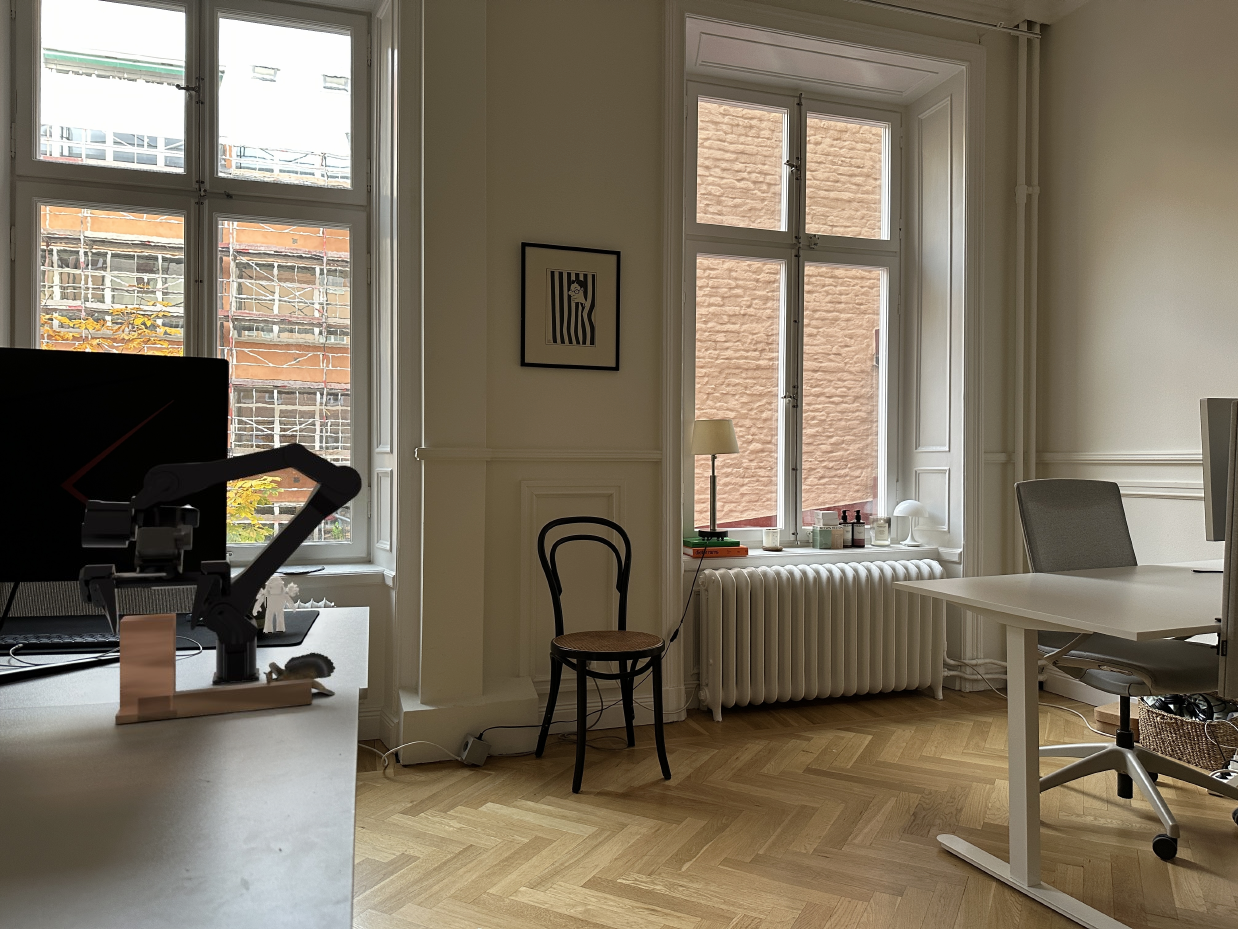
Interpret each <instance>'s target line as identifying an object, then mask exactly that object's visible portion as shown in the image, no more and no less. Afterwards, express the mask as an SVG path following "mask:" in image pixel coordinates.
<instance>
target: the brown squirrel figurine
mask: <svg viewBox="0 0 1238 929" xmlns="http://www.w3.org/2000/svg"><path fill="white" fill-rule="evenodd" d="M283 667H284V668H282V667H280V666H279V665H278V664H277V663H276V662H274V661H273V662H269V663H268V668H269V671H267V672H266V671H263V672H262V673H263V674H264V675H265V680H266V683H268V682H279V681H290V680H301V679H311V680H312V690H315V691H319V692H321V693H322V694H323V693H324V694H326V695H333V696H334V695H335V694H336V692H335V691H333V690H331V689H329V688H326V686H325V685H324V684H322V683H321V682H320V681H318V679H326V678H330V677H331V676H332V674H333V673H335V670H336V667H335V665H334V662H333V661H332V660H331V658H329V656H327V655H325V654H322V653H319V652H309V653H306V654H301V655H298V656H292V657H291V658H289V660H288V661H286V663H284V666H283ZM273 675H274V676H275V677H273ZM316 679H317V680H316Z"/></svg>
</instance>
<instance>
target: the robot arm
mask: <svg viewBox="0 0 1238 929" xmlns="http://www.w3.org/2000/svg"><path fill="white" fill-rule="evenodd" d="M286 469H293V470H295V471H297V473H300V474H301V475H303V476H305V477H306V478H308V479H310V480H312V481H313V482H315V483H316V484H315V485H314V486H313V488H312V490H311V491H310V493H309V495H308V497H307V499H306V500H305V503H304V504H303V505H302V506H301V507H300V508H299V509H298V511H297V512H296V513H295V514H294V515H293V516H292V517H291V518H290V519H289V520H288V521H287V523H286V524H284V526H283V527H281V529H279V531H278V532H277V533H276V534H275V536H274V537H272V539H271V540H269V542H268V543H267V544H266V545H265V546H264V547H263V548H262V549H261V551H259V553H257V555H255V557H254V558H253V559H252V560H251V561H250V562H249V564H247V565H246V567H245V568H243V569H242V571H240V572H238V573H237V574H235V575H234V576H233V577H232V564H231V563H230V562H229V561H228V560H207V561H206V560H205V561H201V562H200V571H189V572H188V571H187V572H183V560H184V551H185V550H187V551H191V550H192V549H193V528H198V527H199V524H200V510H199V509H198V508H195V507H192V506H191V505H190V504H186V505H184V506H174V505H173V506H170V505H169V506H168V505H164V506H163V505H160V506H159V507H154V508H152V509H151V508H150V506H152V505H154V504H156V503H160V504H161V503H163V504H164V503H173V502H175V501H178V500H181V499H183V498H185V497H187V496H191V495H193V494H195V493H199V492H200V491H203V490H205V489H207V488H210V487H213V486H216V485H219V484H223V483H228V482H232V481H237V480H242V479H246V478H250V477H254V476H258V475H265V474H268V473H272V472H277V471H281V470H286ZM362 482H363V481H362V477H361V475H360V473H359V472H358V471H357V470H356V468H353V467H352V466H349V465H337V464H335V463H333V462H331V461H330V460H328V459H326V458H324V457H322V456H321V455H319V454H316V453H315V452H314V451H311V450H309V449H307V448H306V446H304V445H303V444H301V443H299V442H291V443H287V444H285V445H283V446H279V447H274V448H269V449H265V450H260V451H255V452H250V453H245V454H240V455H237V456H232V457H228V458H227V457H226V458H221V459H218V460H217V459H216V460H214V461H203V462H202V461H201V462H182V463H181V462H179V463H164V464H158V465H156V466H153V467H152V468H150V469H149V470H148V472H147V473H146V474H145V476H144V478H143V488H142V489H141V490H140V491H139V492H138V493H137V495H133V496H132V497H131V501H129V502H127V501H126V502H124V501H123V502H119V501H118V502H117V501H104V500H103V501H102V500H97V499H96V500H95V499H94V500H93V499H92V500H91V499H90V500H87V501H86V506H85V512H84V517H83V518H84V519H83V523H81V532H80V534H81V547H83V548H128V545H129V542H131V541H136V544H135V545H136V546H135V547H136V548H135V554H134V569H135V568H136V572H120V573H119V572H117V573H116V566H115V564H88V565H85V566H83V567H82V568H81V569H80V571H79V576H78V584H79V589H80V592H81V599H82V602H83V603H84V604H87V605H92V607H94V608H96V609H101V610H102V611H103V612H104V614H105V616H106V617H107V619H108V622H109V625H110V629H111V632H112V633H113V636H117V635H118V633H119V629H120V626H119V603H118V597H117V596H118V590H121V589H122V590H123V589H140V588H141V589H153V590H157V589H158V590H159V589H160V590H161V589H178V588H179V589H180V588H195V589H196V590H195V593H194V594H195V595H194V600H193V603H192V609H191V613H190V623H189V624H190V628H189V629H190V631H194V630H195V629H196V627H197V626H198V624H199V623H200V620H202V623H203V625H204V626H205V628H207V630H209V631H210V632H212V633H215V634H216V637H217V638H216V639H215V642H216V643H215V647H216V648H215V656H216V657H215V658H216V659H215V660H216V661H215V663H216V664H215V671H214V672H213V676H212V681H211V682H212V685H213V684H215V685H217V684H228V683H238V682H240V683H241V682H247V681H250V682H251V681H257V680H258V681H259V680H260V667H257V634H258V631H259V627H258V625H257V620H256V619H255V618H254V617H253V616H252V615H250V614H249V613H248V612H249V611H250V610H251V608H252V606H253V605H254V602H255V600H257V599H256V597H257V595H258V593H259V591H260V590H261V588H262V589H263V587H265V585H266V584H265V583H267V581H269V579H270V578H271V577H273V576H274V575H275V574H276V572H278V571H279V569H281V567H282V566H283V565H284V564H285V563H286V561H288V560H289V558H290V557H291V556H292V555H294V553H295V552H296V551H297V549H299V547H300V546H301V545H302V544H303V543H304V542H305V541H306V540H307V539H308V537H310V535H311V534H312V533H313V532H314V531H315V530H316V529H317V528H318V527H319V526H320V524H322V523H323V522H324V520H325V519H327V518H329V517H331V515H333V514H335V513H336V512H338V511H339V510H341V509H342V508H343V507H344V506H346V505H348V503H350V502H351V501H352V500H353V499H354V498H356V497H357V496H358V495H359V493H360V491H361V490H362V487H363V483H362ZM146 508H150V509H146ZM140 527H141V528H140Z"/></svg>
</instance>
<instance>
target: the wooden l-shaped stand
mask: <svg viewBox="0 0 1238 929" xmlns="http://www.w3.org/2000/svg"><path fill="white" fill-rule="evenodd" d="M176 654H177V613H175V612H174V613H157V614H142V615H141V614H140V615H139V614H137V615H125V616H123V617H122V618H121V620H120V621H119V709H118V711H117V712H116V713H115V716H114V724H115V725H118V724H119V725H120V724H127V723H128V724H129V723H138V722H147V721H149V722H150V721H156V720H157V721H159V720H168V719H178V718H186V717H195V716H197V717H198V716H206V715H215V714H216V715H218V714H224V713H226V714H227V713H234V712H243V711H252V710H253V711H255V710H263V709H264V710H265V709H274V708H284V707H293V706H300V705H301V706H303V705H311V704H312V703H313V688H312V680H311V679H301V680H290V681H279V682H268V683H267V682H257V683H247V684H238V685H236V684H235V685H226V686H216V687H215V686H214V687H203V688H196V689H195V688H194V689H184V690H177V688H176V687H177V684H176V683H177V655H176Z"/></svg>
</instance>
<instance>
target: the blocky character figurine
mask: <svg viewBox="0 0 1238 929" xmlns="http://www.w3.org/2000/svg"><path fill="white" fill-rule="evenodd" d="M284 584H285V582H284V581H283V579H282V578H281V577H280V576H274V575H273V576H272V577H271V578H270V579H269V580H268V581H267V582H266V583H265V584H264V585H265V588H264V589H263V587H262V588H261V590H260V591H259V593H258V595H257V597H256V599H255V600H257V601H256V602H255V604H254V607H253V610H252V615H253V616H257V615H258V613H257V612H258V611H260V612H262V608H261V605H262V604H263V603H264V607H265V608H266V597H267V608H266V611H265V619H264V620H265V622H264V628H263V633H264V632H265V634H269V633H268V632H272V633H274V627H273V626H274V625H273V620H274V616H275V618H276V631H283V632H286V628H285V617H284V616H285V614H284V612H285V610H284V608H285V606H286V603H287V605H288V608H289V609H290V610H292V612H293V613H296V611H297V607H296V605H295V602H294V601H293V599H292V598H291V597H295V596H296V595H298V596H299V594H300V592H299V591H300V588H299V587H298V584H295V583H294V582H293V581H292V582H291V583H290V584H287V587H284V586H285V585H284Z"/></svg>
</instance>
